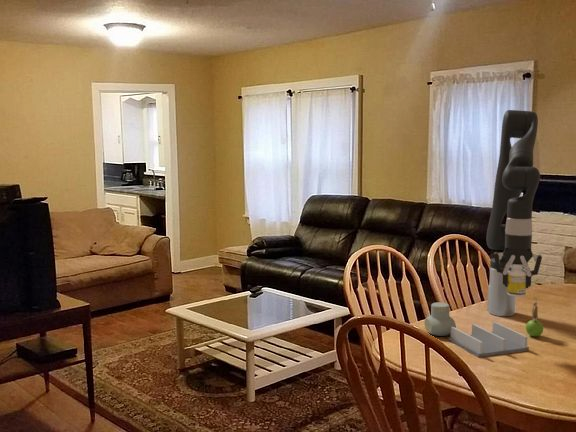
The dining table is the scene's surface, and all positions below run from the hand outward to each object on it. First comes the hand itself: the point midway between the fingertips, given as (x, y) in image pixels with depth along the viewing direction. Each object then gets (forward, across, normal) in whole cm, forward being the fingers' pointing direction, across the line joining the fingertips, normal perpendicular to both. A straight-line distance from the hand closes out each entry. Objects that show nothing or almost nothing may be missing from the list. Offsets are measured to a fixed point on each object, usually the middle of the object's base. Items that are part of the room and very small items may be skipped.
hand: (516, 286), depth 186 cm
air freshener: (+20, +23, -6) cm, 31 cm away
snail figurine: (+20, -6, -14) cm, 25 cm away
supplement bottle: (+3, 0, 0) cm, 3 cm away
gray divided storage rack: (+19, +8, 0) cm, 21 cm away
